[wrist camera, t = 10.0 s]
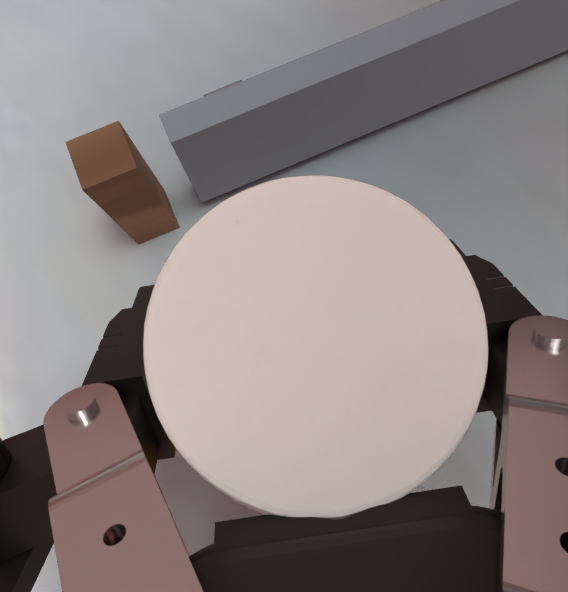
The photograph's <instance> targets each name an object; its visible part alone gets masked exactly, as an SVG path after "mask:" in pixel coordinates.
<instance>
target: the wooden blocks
mask: <svg viewBox="0 0 568 592" xmlns="http://www.w3.org/2000/svg"><path fill="white" fill-rule="evenodd" d="M66 145H67V148H68V150H69V153H70V156H71V159H72V162H73V164H74V167H75V170H76V173H77V176H78V178H79V181H80V184H81V187H82V190H83V191H84V192H85V193H86V194H87V195H88V196H89V197H90V198H91V199H93V200H94V201H95V202H96V203H97V204H98V205H99V206H100V207H101V208H102V209H103V210H104V211H105V212H106V213H107V214H108V215H109V216H110V217H111V218H112V219H113V220H114V221H115V222H116V223H117V224H118V225H119V226H120V227H122V228H123V229H124V230H125V231H126V232H127V233H128V234H129V235H130V236H131V237H132V238H133V239H134V240H135V241H136V242H137V243H138V244H141V243H143V242H145V241H148V240H150V239H152V238H155V237H157V236H160V235H162V234H164V233H167V232H169V231H172V230H174V229H176V228H179V225H178V223H177V220H176V218H175V215H174V213H173V210H172V208H171V205H170V203H169V200H168V198H167V195H166V193H165V191H164V189H163V188H162V186H161V185H160V183H159V181H158V180H157V178H156V177H155V175H154V174H153V172H152V171H151V169H150V168H149V166H148V165H147V163H146V162H145V160H144V159H143V157H142V156H141V154H140V153H139V151H138V150H137V148H136V147H135V145H134V144H133V142H132V140H131V139H130V137H129V136H128V134H127V133H126V131H125V130H124V128H123V127H122V125H121V124H120V122H119V121H117V122H115V123H112V124H110V125H107V126H105V127H102V128H100V129H97V130H95V131H92V132H90V133H87V134H85V135H82V136H80V137H77V138H75V139H72V140H70V141H67V142H66Z"/></svg>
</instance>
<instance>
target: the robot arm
mask: <svg viewBox="0 0 568 592" xmlns="http://www.w3.org/2000/svg"><path fill="white" fill-rule="evenodd" d="M449 240H450V241H451V243H452V244H453V246H454V247H455V248H456V250H457V251H458V252H459V254H460V255H461V257H462V259H463V260H464V262H465V264H466V266H467V268H468V269H469V271H470V274H471V276H472V278H473V280H474V282H475V285H476V287H477V290H478V292H479V296H480V299H481V303H482V306H483V310H484V313H485V319H486V326H487V336H488V368H487V373H486V379H485V385H484V389H483V392H482V395H481V398H480V402H479V405H478V408H477V411H476V413H477V412H484V411H491V410H492V411H493V413H494V415H495V416H496V425H495V432H494V448H493V464H492V480H491V496H490V508H485V507H480V506H471V505H470V503H469V501H468V499H467V496H466V494H465V492H464V490H463V487H462V486H456V487H449V488H443V489H436V490H429V491H422V492H416V493H409V494H407V495H405V496H404V497H402V498H400V499H397V500H395V501H392V502H390V503H387V504H383V505H379V506H375V507H371V508H368V509H366V510H363V511H361V512H358V513H356V514H354V515H351V516H349V517H346V518H343V519H328V518H317V517H285V516H278V515H273V514H268V515H262V516H255V517H248V518H242V519H235V520H228V521H222V522H215V538H214V544H212V545H209V546H207V547H205V548H203V549H201V550H199V551H198V552H196V553H194V554H192V555H191V556H189V554H188V551H187V549H186V547H185V544H184V542H183V540H182V537H181V535H180V533H179V531H178V528H177V526H176V524H175V521H174V519H173V517H172V514H171V512H170V510H169V507H168V505H167V503H166V501H165V498H164V496H163V494H162V491H161V489H160V487H159V484H158V482H157V480H156V478H155V475H154V473H155V468H156V463H157V460H160V459H167V458H173V457H174V455H175V446H174V445H173V443H172V442H171V440H170V439H169V437H168V436H167V434H166V432H165V430H164V428H163V426H162V424H161V422H160V421H159V419H158V417H157V414H156V411H155V409H154V406H153V403H152V400H151V397H150V394H149V390H148V385H147V380H146V375H145V368H144V359H143V337H144V324H145V318H146V313H147V307H148V304H149V301H150V298H151V294H152V291H153V288H154V285H150V286H144V287H140V288H139V290H138V293H137V296H136V298H135V301H134V304H133V306H132V308H128V309H122V310H121V311H120V312H119V313H118V314H117V315H116V316H115V317H114V318H113V319H112V320H111V321H110V322H109V324H108V326H107V328H106V331H105V333H104V335H103V339H102V340H101V342H100V345H99V347H98V351H97V352H96V354H95V356H94V359H93V361H92V363H91V365H90V368H89V370H88V372H87V375H86V377H85V379H84V382H83V384H82V386H81V387H78V388H76V389H74V390H72V391H70V392H68V393H66V394H65V395H63V396H62V397H60V398H59V399H58V400H57V401H56V402H55V403H54V404H53V405H52V406H51V407H50V408H49V410H48V411H47V413H46V415H45V417H44V425H41V426H39V427H37V428H34V429H31V430H29V431H26V432H24V433H21V434H18V435H16V436H13V437H10V438H8V439H5V440H3V441H2V439H1V438H0V592H31V590H32V588H33V586H34V584H35V581H36V579H37V577H38V575H39V573H40V571H41V569H42V567H43V565H44V562H45V560H46V558H47V556H48V554H49V552H50V550H51V548H52V545H53V543H54V545H55V551H56V556H57V562H58V568H59V574H60V580H61V586H62V592H568V320H565V319H562V318H558V317H552V316H542V315H541V313H540V312H539V311H538V310H537V309H536V308H535V307H534V306H533V305H532V304H531V303H530V302H529V301H528V300H527V299H526V298H525V297H524V296H523V295H522V294H521V293H520V292H519V291H518V290H517V288H516V287H513V284H512V283H511V282H510V281H509V280H508V279H507V278H506V277H504V276H503V274H502V273H501V272H500V271H499V270H498V269H497V268H496V267H495V266H494V265H493V264H492V263H490V262H488V261H486V260H484V259H482V258H480V257H478V256H476V255H472V256H465V254H464V253H463V252H462V251H461V250H460V249H459V248H458V246H457V245H456V244H455V243H454V242H453V241H452V240H451V239H449Z"/></svg>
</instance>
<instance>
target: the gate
mask: <svg viewBox="0 0 568 592" xmlns="http://www.w3.org/2000/svg"><path fill="white" fill-rule="evenodd" d="M567 50H568V0H442V1H440V2H437V3H435V4H432V5H430V6H427V7H425V8H423V9H420V10H418V11H415V12H413V13H410V14H408V15H405V16H403V17H400V18H398V19H395V20H393V21H390V22H388V23H385V24H383V25H381V26H378V27H376V28H373V29H371V30H368V31H366V32H363V33H361V34H358V35H356V36H353V37H351V38H348V39H346V40H343V41H341V42H338V43H336V44H334V45H331V46H329V47H326V48H324V49H321V50H319V51H316V52H314V53H311V54H309V55H306V56H304V57H301V58H299V59H296V60H294V61H292V62H289V63H287V64H284V65H282V66H279V67H277V68H274V69H272V70H269V71H267V72H264V73H262V74H259V75H257V76H254V77H252V78H250V79H247V80H245V81H242V80H240V81H237V82H235V83H232V84H230V85H227V86H225V87H223V88H220V89H218V90H215V91H213V92H210V93H208V94H205V95H203V96H204V97H203V98H200V99H198V100H195V101H193V102H190V103H188V104H185V105H183V106H180V107H178V108H175V109H173V110H170V111H168V112H166V113H163V114H161V115H159V116H160V118H161V121H162V123H163V126H164V128H165V130H166V133H167V135H168V138H169V140H170V142H171V144H172V146H173V148H174V150H175V152H176V154H177V156H178V158H179V160H180V162H181V164H182V166H183V168H184V170H185V172H186V173H187V175H188V177H189V179H190V181H191V183H192V185H193V187H194V189H195V191H196V193H197V195H198V197H199V199H200V201H201V203H202V202H205V201H207V200H209V199H212V198H214V197H217V196H219V195H221V194H224V193H226V192H229V191H231V190H233V189H236V188H238V187H241V186H243V185H245V184H248V183H250V182H253V181H255V180H257V179H260V178H262V177H265V176H267V175H269V174H272V173H274V172H277V171H279V170H281V169H284V168H286V167H289V166H291V165H293V164H296V163H298V162H301V161H303V160H305V159H308V158H310V157H313V156H315V155H317V154H320V153H322V152H325V151H327V150H329V149H332V148H334V147H337V146H339V145H341V144H344V143H346V142H349V141H351V140H353V139H356V138H358V137H361V136H363V135H365V134H368V133H370V132H373V131H375V130H377V129H380V128H382V127H385V126H387V125H389V124H392V123H394V122H397V121H399V120H401V119H404V118H406V117H409V116H411V115H413V114H416V113H418V112H421V111H423V110H425V109H428V108H430V107H433V106H435V105H437V104H440V103H442V102H445V101H447V100H449V99H452V98H454V97H457V96H459V95H462V94H464V93H466V92H469V91H471V90H474V89H476V88H478V87H481V86H483V85H486V84H488V83H490V82H493V81H495V80H498V79H500V78H502V77H505V76H507V75H510V74H512V73H514V72H517V71H519V70H522V69H524V68H526V67H529V66H531V65H534V64H536V63H538V62H541V61H543V60H546V59H548V58H550V57H553V56H555V55H558V54H560V53H562V52H565V51H567Z"/></svg>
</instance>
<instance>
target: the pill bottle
mask: <svg viewBox="0 0 568 592" xmlns="http://www.w3.org/2000/svg"><path fill="white" fill-rule="evenodd" d="M143 359H144V368H145V375H146V380H147V385H148V390H149V394H150V397H151V400H152V403H153V406H154V409H155V411H156V414H157V417H158V419H159V421H160V422H161V424H162V426H163V428H164V430H165V432H166V434H167V436H168V437H169V439H170V440H171V442H172V443H173V445H174V446H175V448H176V449H177V450H178V452H179V453H180V454H181V455H182V456H183V458H184V459H185V460H186V461H187V462H188V464H189V465H190V466H191V467H192V468H193V469H194V470H195V471H196V472H197V473H198V474H199V475H200V476H201V477H202V478H203V479H205V480H206V481H207V482H209V483H210V484H211V485H212V486H213V487H214V488H216V489H217V490H218V491H220V492H221V493H222V494H223V495H225V496H226V497H228V498H229V499H231V500H232V501H234V502H236V503H238V504H240V505H242V506H244V507H246V508H248V509H250V510H253V511H255V512H258V513H261V514H264V515H268V514H273V515H278V516H285V517H317V518H328V519H343V518H346V517H349V516H351V515H354V514H356V513H358V512H361V511H363V510H366V509H368V508H371V507H375V506H379V505H383V504H387V503H390V502H392V501H395V500H397V499H400V498H402V497H404V496H405V495H407V494H408V493H410V492H411V491H413V490H414V489H416V488H417V487H418V486H420V485H421V484H423V483H424V482H425V481H427V480H428V479H429V478H430V477H431V476H432V475H433V474H434V473H436V472H437V471H438V470H439V469H440V468H441V467H442V466H443V464H444V463H445V462H446V461H447V460H448V459H449V458H450V456H451V455H452V454H453V452H454V451H455V450H456V448H457V447H458V445H459V444H460V442H461V441H462V439H463V437H464V436H465V434H466V432H467V431H468V429H469V428H470V426H471V423H472V421H473V418H474V416H475V414H476V411H477V408H478V405H479V402H480V398H481V395H482V392H483V389H484V385H485V379H486V373H487V368H488V336H487V326H486V319H485V313H484V310H483V306H482V303H481V299H480V296H479V292H478V290H477V287H476V285H475V282H474V280H473V278H472V276H471V274H470V271H469V269H468V268H467V266H466V264H465V262H464V260H463V259H462V257H461V255H460V254H459V252H458V251H457V250H456V248H455V247H454V246H453V244H452V243H451V241H450V240H449V239H448V238H447V237H446V236H445V235H444V234H443V233H442V232H441V230H440V229H439V228H438V227H437V226H436V225H435V224H434V223H433V222H432V221H431V220H430V219H429V218H427V217H426V216H425V215H424V214H422V213H421V212H420V211H418V210H417V209H416V208H415V207H413V206H412V205H410V204H409V203H407V202H406V201H404V200H402V199H400V198H399V197H397V196H395V195H393V194H391V193H389V192H387V191H385V190H383V189H380V188H378V187H375V186H373V185H370V184H366V183H362V182H359V181H355V180H351V179H346V178H340V177H333V176H295V177H287V178H281V179H276V180H272V181H268V182H265V183H262V184H259V185H256V186H254V187H251V188H248V189H246V190H244V191H242V192H240V193H238V194H236V195H234V196H232V197H230V198H228V199H226V200H225V201H223V202H221V203H220V204H218V205H217V206H215V207H214V208H213V209H211V210H210V211H209V212H207V213H206V214H205V215H204V216H203V217H202V218H201V219H200V220H199V221H198V222H197V223H196V224H195V225H193V226H192V227H191V228H190V229H189V230H188V231H187V232H186V234H185V235H184V236H183V237H182V239H181V240H180V241H179V242H178V244H177V245H176V246H175V247H174V249H173V251H172V252H171V254H170V256H169V257H168V259H167V260H166V262H165V264H164V265H163V267H162V269H161V271H160V274H159V276H158V278H157V280H156V283H155V285H154V288H153V291H152V294H151V298H150V301H149V304H148V307H147V313H146V318H145V324H144V337H143Z"/></svg>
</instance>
